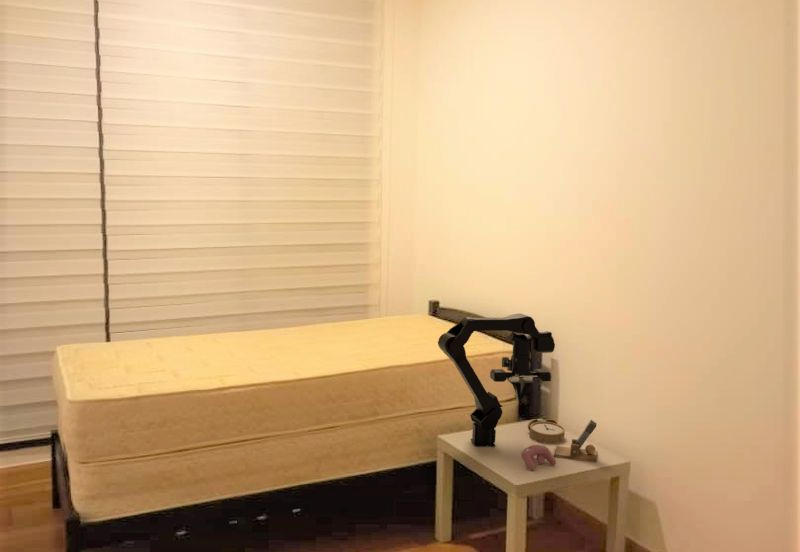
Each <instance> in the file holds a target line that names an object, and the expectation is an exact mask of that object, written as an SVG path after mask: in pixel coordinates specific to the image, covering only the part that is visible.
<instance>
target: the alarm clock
mask: <svg viewBox="0 0 800 552" xmlns="http://www.w3.org/2000/svg"><path fill="white" fill-rule="evenodd" d="M527 429H528V432H529V437H530V438H531V439H532V440H533V441H535V440H536V441H535V442H539V441H540V442H539V443H544V442H546V443H545V444H557V443H556V442H558V443H562V442H563V441H564V440H565V431H566V429H565V428H564V426H562V425H560V424H558V422H557V421H556V420H555V419H547V420H539V419H536V418H533V419H530V421H528V424H527Z"/></svg>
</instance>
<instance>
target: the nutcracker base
mask: <svg viewBox="0 0 800 552" xmlns="http://www.w3.org/2000/svg"><path fill="white" fill-rule="evenodd" d="M577 439H578V438H577ZM577 439H576V438H572V439H571V444H570V447H568V446H562V445H561V446H559V445H556V446H555V449H554V453H553V457H554V458H559V459H570V460H578V461H583V462H585V461H586V462H594V463H596V462H597V459H598V458H597V457H598V450H596V447H595V446H594V445H593V444H587V445H586V446H585V447H584V448H585V449H584V448H580V449H579V445H577V444H574V443H575V442H576V441H577Z"/></svg>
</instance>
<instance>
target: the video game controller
mask: <svg viewBox="0 0 800 552" xmlns="http://www.w3.org/2000/svg"><path fill="white" fill-rule="evenodd" d="M520 455H521V459H522V461H524V463H525V465H526V467H527V468H528V470H530V471H533V472H534V471H535V469H536V465H543V464H544V463H545V460H546V461H547V462H548V463H549V464H550V465H551V466H552V467H554V466H556V464H557V463H556V461H557V460H556V457H554V454H553V453H551V450H549V448H548V447H547V446H546V445H542V444H541V445H540V444H533V445H530V446H528V447H526V448H524V449H523V450H522V451H521V453H520ZM535 456H536V458H535Z"/></svg>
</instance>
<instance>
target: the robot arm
mask: <svg viewBox="0 0 800 552" xmlns="http://www.w3.org/2000/svg"><path fill="white" fill-rule="evenodd" d="M535 323H536V322H535V319H533V317H531V316H530V315H529V316H528V315H526V314H523V313H515V314H510V315H507V316H503V317H469V316H467V317H464V318H463V319H461V320H460V322H458V323H457V324H455V325H454V326H452V327H451V328H449V330H448V331H446V332H444V333H442V334H441V335H440V336H439V337H438V341H437V346H438V347H439V349H440V350H441V351H442V352H443V353H444V355H446V356H447V358H448V359H449V360H451V362H452V363H453V364H454V366H455V368H456V369H457V371H458V373H459V374H460V375H461V377H462V379H463V380H464V382H465V384H466V386H467V387H468V389H469V391H470V393H471V395H472V396H473V398H474V405H475V407H476V408H475V409H474V410H473V412H471V413H470V415H469V416H470V419H471V421H472V438H470V441H471V443H472V444H473V446H474V447H495V446H496V444H495V443H496V435H497V430H496V428H497V426H498V423H499V420H500V419H501V418H502V415H503V412H504V411H503V409H502V408H503V405H501V403H500V401H499V398H498V397H497V396H496V395H495V394H493V393H491V392H490V391H486V389H485V387H484V386H483V383H482V382H481V380H480V378H479V376H478V375H477V373H476V372H475V370H474V368H473V367H472V365H471V363H470V362H469V359H468V358H467V354H466V349H465V345H466V344H467V343H468V341H469V339H471V336H472V334H473V333H474V332H485V331H486V332H487V331H488V332H491V331H492V332H494V331H497V332H498V331H501V332H503V331H508V332H511V333H510V334H509V335H508V336H507V337H506V339H507V340H509V341H511V342H512V354H511V356H510V358H509V357H508V356H507V357H501V367H502V368H501V369H500V368H497V369H496V368H495V369H491V370H490V372H489V378H490V379H491V380H493V382H497V383H499V382H500V383H503V382H506V381H507V382H509V383H510V384H511V385H512V387H513V389H514V393H515V396H516V401H517V402H518V403H521V402H522V401H523V399H524V396H525V395H526V393H527V391H528V389H529V388H530V386H531V385H533V384H534V383H535V382H534V381H533V379H540V381H541V382H551V381H552V373H551V372H550V371H548V369H546V368H535V369H534V370H533V371H531V362H532V358H531V357H532V356H531V351H532V352H533V353H534V354H547V353H550V354H551V353H554V351H555V348H556V347H555V346H556V343H555V340H554V337H553V336H552V335H553V333H552V332H551V331H548V330H547V331H539V329H538V328H537V326H536V324H535ZM526 335H528V336H526ZM503 368H506V369H507V371H505V370H504V369H503Z"/></svg>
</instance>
